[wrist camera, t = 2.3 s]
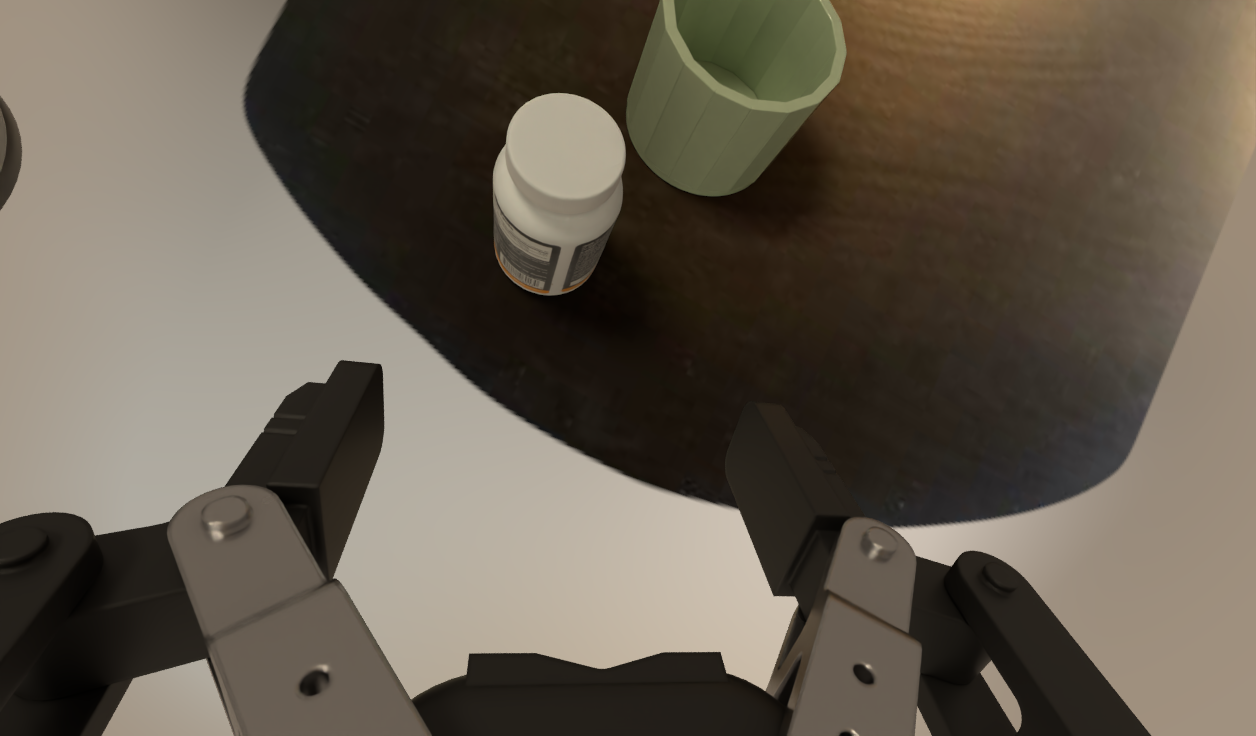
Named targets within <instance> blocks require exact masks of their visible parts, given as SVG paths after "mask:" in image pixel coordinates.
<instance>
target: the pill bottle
mask: <svg viewBox="0 0 1256 736" xmlns="http://www.w3.org/2000/svg"><path fill="white" fill-rule="evenodd" d="M625 156H626V151H625V143H624V139H623V136H622V133H621V131H620V129H619V127H618V126H617V124H616V123H615V121H614V120H613V119H612V117H611V116H610V115H609V114H608V113H607V112H606V111H605V110H604V109H602V108H601V107H600V106H598V105H597V104H595V103H593V102H592V101H590V100H588V99H585V98H583V97H580V96H576V95H572V94H564V93H554V94H547V95H542V96H539V97H536V98H534V99H532V100H531V101H529V102H527V103H526V104H525V105H523V106H522V107H521V108H520V109H519V110H518V111H517V112H516V114H515V115H514V117H513V118H512V120H511V122H510V125H509V128H508V132H507V137H506V145H505V146H504V148H503V149H502V151H501V152H500V154H499V156H498V159H497V161H496V164H495V168H494V172H493V202H494V245H495V252H496V256H497V259H498V262H499V264H500V266H501V268H502V269H503V271H504V272H505V274H506V275H507V276H508V277H509V278H510V279H511V280H512V281H513V282H514V283H516V284H517V285H518V286H520V287H522V288H523V289H525V290H527V291H530V292H533V293H537V294H540V295H560V294H564V293H567V292H570V291H573V290H574V289H576V288H577V287H579V286H581V285H582V284H583V283H584V282H585V281H586V280H587V279H588V278H589V276H590V275H591V274H592V272H593V270H594V268H595V267H596V265H597V263H598V260H599V258H600V256H601V254H602V252H603V250H604V247H605V245H606V242H607V240H608V238H609V235H610V233H611V231H612V228H613V226H614V224H615V222H616V219H617V217H618V215H619V212H620V209H621V205H622V197H623V186H622V179H621V175H622V172H623V169H624V165H625Z"/></svg>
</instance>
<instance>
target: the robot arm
mask: <svg viewBox="0 0 1256 736" xmlns="http://www.w3.org/2000/svg"><path fill="white" fill-rule="evenodd" d="M383 435H384V398H383V371H382V366H381V365H380V364H374V363H364V362H354V361H353V362H352V361H344V360H341V361H339V362H338V364H337V366H336V367H335V369H334V371H333V372H332V374H331V376H330V377H329V379H328V381H327V382H326V384H323V383H313V382H308V383H306V384H305V385H303V386H301V387H300V388H298V389H297V390H295V391H294V392H292V393H291V394H289V395H287V396H286V398H285V399H284V400H283V402H282V403H281V405H280V406H279V408H278V409H277V411H276V412H275V413H274V418H271V419H270V421H269V422H268V424H267V425H266V427H265V428H264V432H263V433H261V434H260V435H259V437H258V438H257V440H256V441H255V443H254V444H253V446H252V447H251V449H250V450H249V452H248V453H247V455H246V456H245V458H244V459H243V460H242V462H241V463H240V465H239V466H238V468H237V469H236V471H235V472H234V474H233V475H232V476H231V478H230V479H229V481H228V483H227V484H226V485H225V487H223V488H218V489H215V490H212V491H209V492H206V493H204V494H202V495H200V496H198V497H196V498H194V499H193V500H191V501H189V502H188V503H186V504H185V505H184V506H183V507H181V508H180V509H179V510H178V511H177V512H176V514H175V515H174V516H173V517H172V519H171V520H170V522H166V523H163V524H158V525H153V526H149V527H143V528H137V529H131V530H125V531H119V532H114V533H108V534H102V535H96V536H95V535H94V532H93V530H92V528H91V526H90V524H89V523H88V522H87V521H86V520H85V519H83V518H81V517H79V516H76V515H73V514H68V513H56V512H53V513H40V514H33V515H28V516H23V517H19V518H16V519H12V520H9V521H6V522H3V523H1V524H0V736H101V735H102V734H103V731H104V730H105V728H106V727H107V725H108V723H109V721H110V719H111V717H112V716H113V714H114V712H115V710H116V708H117V707H118V705H119V703H120V701H121V699H122V698H123V696H124V694H125V692H126V690H127V689H128V687H129V685H130V683H131V681H132V679H133V678H136V677H139V676H143V675H147V674H150V673H154V672H158V671H161V670H165V669H169V668H172V667H176V666H180V665H183V664H187V663H191V662H194V661H198V660H202V659H205V658H206V660H207V663H208V665H209V668H210V671H211V674H212V676H213V679H214V682H215V685H216V688H217V690H218V693H219V696H220V699H221V701H222V704H223V707H224V710H225V713H226V715H227V718H228V721H229V724H230V726H231V729H232V732H233V734H234V736H915V724H916V713H917V706H918V708H919V710H920V712H921V714H922V716H923V718H924V720H925V722H926V724H927V726H928V728H929V730H930V732H931V735H932V736H1151V735H1150V734H1149V733H1148V731H1147V730H1146V729H1145V727H1144V726H1143V725H1142V724H1141V722H1140V721H1139V720H1138V719H1137V717H1136V716H1135V715H1134V714H1133V712H1132V711H1131V710H1130V709H1129V708H1128V706H1127V705H1126V704H1125V702H1124V701H1123V700H1122V699H1121V697H1120V696H1119V695H1118V694H1117V692H1116V691H1115V690H1114V689H1113V687H1112V686H1111V685H1110V684H1109V682H1108V681H1107V680H1106V679H1105V677H1104V676H1103V675H1102V674H1101V672H1100V671H1099V670H1098V669H1097V667H1096V666H1095V665H1094V664H1093V662H1092V661H1091V660H1090V659H1089V658H1088V656H1087V655H1086V654H1085V653H1084V651H1083V650H1082V649H1081V647H1080V646H1079V645H1078V644H1077V643H1076V641H1075V640H1074V639H1073V637H1072V636H1071V635H1070V634H1069V632H1068V631H1067V630H1066V629H1065V627H1064V626H1063V625H1062V624H1061V622H1060V621H1059V620H1058V619H1057V618H1056V616H1055V615H1054V614H1053V612H1052V611H1051V610H1050V609H1049V607H1048V606H1047V605H1046V604H1045V602H1044V601H1043V600H1042V599H1041V597H1040V596H1039V595H1038V594H1037V593H1036V591H1035V590H1034V589H1033V587H1032V586H1031V585H1030V584H1029V583H1028V581H1027V580H1026V579H1025V578H1024V577H1023V576H1022V575H1021V574H1020V573H1019V572H1017V571H1016V570H1015V569H1014V568H1012V567H1011V566H1009V565H1008V564H1007V563H1005V562H1003V561H1002V560H1000V559H998V558H996V557H994V556H991V555H989V554H986V553H983V552H978V551H967V552H964V553H962V554H961V555H960V556H959V557H958V559H957V560H956V561H955V563H954V564H953V565H952V567H951V566H947V565H944V564H941V563H938V562H934V561H931V560H928V559H924V558H921V557H918V556H915V553H914V551H913V549H912V548H911V546H910V545H909V543H908V542H907V541H906V540H905V539H904V538H903V537H902V536H901V535H900V534H899V533H898V532H896V531H895V530H894V529H892V528H891V527H889V526H887V525H885V524H884V523H882V522H879V521H877V520H874V519H871V518H866V517H865V515H864V514H863V512H862V511H861V509H860V507H859V506H858V504H857V503H856V501H855V500H854V498H853V497H852V495H851V493H850V492H849V490H848V489H847V487H846V486H845V484H844V483H843V481H842V479H841V478H840V476H839V475H838V474H836V470H835V469H834V467H833V465H832V464H831V462H830V461H827V456H826V455H825V453H824V451H823V450H822V448H821V447H820V445H819V444H818V442H817V441H816V440H815V439H814V438H812V437H811V436H810V435H809V434H808V433H807V432H805V431H804V430H803V429H802V428H801V427H796V426H795V425H794V423H793V421H792V420H791V418H790V416H789V415H788V413H787V412H786V410H785V408H784V407H783V406H782V405H781V404H774V403H764V402H754V401H749V402H748V403H746V405H745V406H744V408H743V410H742V413H741V416H740V418H739V421H738V424H737V426H736V429H735V432H734V434H733V437H732V440H731V442H730V445H729V448H728V451H727V454H726V460H725V471H726V477H727V480H728V482H729V485H730V487H731V490H732V492H733V495H734V497H735V500H736V502H737V505H738V507H739V510H740V512H741V515H742V517H743V520H744V522H745V525H746V527H747V530H748V533H749V535H750V538H751V540H752V542H753V545H754V548H755V550H756V553H757V555H758V558H759V560H760V563H761V565H762V568H763V570H764V573H765V575H766V578H767V581H768V583H769V586H770V588H771V591H772V593H773V595H774V596H795V597H796V599H797V601H798V604H799V605H798V607H797V608H796V610H795V612H794V614H793V616H792V619H791V622H790V625H789V627H788V630H787V633H786V636H785V639H784V642H783V645H782V648H781V650H780V654H779V656H778V659H777V662H776V664H775V667H774V670H773V673H772V676H771V679H770V681H769V684H768V687H767V689H766V691H764V690H763V689H761V688H759V687H757V686H756V685H754V684H752V683H750V682H748V681H746V680H744V679H741V678H739V677H736V676H734V675H730V674H727V673H726V670H725V667H724V663H723V660H722V656H721V652H678V653H677V652H671V653H670V652H669V653H668V652H665V653H660V654H656V655H653V656H650V657H646V658H642V659H639V660H635V661H632V662H629V663H625V664H622V665H618V666H615V667H611V668H607V669H597V668H592V667H589V666H585V665H581V664H576V663H573V662H569V661H564V660H561V659H557V658H553V657H549V656H545V655H541V654H537V653H491V654H490V653H489V654H487V653H486V654H485V653H484V654H483V653H482V654H469V660H468V668H467V675H464V676H460V677H457V678H454V679H451V680H448V681H446V682H443V683H441V684H438V685H436V686H434V687H432V688H430V689H428V690H426V691H424V692H423V693H421V694H419V695H417V696H416V697H414V698H413V699H412V700H411V699H410V698H409V696H408V694H407V692H406V691H405V689H404V687H403V686H402V684H401V682H400V681H399V679H398V677H397V676H396V674H395V672H394V671H393V669H392V667H391V665H390V664H389V662H388V660H387V659H386V657H385V655H384V654H383V652H382V650H381V648H380V647H379V645H378V644H377V642H376V640H375V639H374V637H373V635H372V633H371V632H370V630H369V628H368V627H367V625H366V623H365V621H364V620H363V618H362V616H361V615H360V613H359V612H358V610H357V608H356V606H355V605H354V603H353V601H352V600H351V598H350V596H349V595H348V593H347V591H346V590H345V588H344V587H343V585H342V584H341V583H340V582H339V581H338V580H337V579H333V576H334V573H335V571H336V568H337V565H338V563H339V560H340V558H341V555H342V552H343V550H344V547H345V544H346V542H347V539H348V536H349V534H350V531H351V529H352V526H353V523H354V521H355V518H356V515H357V513H358V510H359V507H360V504H361V502H362V499H363V497H364V494H365V491H366V489H367V486H368V484H369V481H370V478H371V476H372V473H373V470H374V468H375V465H376V462H377V460H378V457H379V454H380V451H381V447H382V442H383ZM991 660H992V662H993V663H994V665H995V666H996V668H997V670H998V671H999V673H1000V674H1001V676H1002V677H1003V679H1004V680H1005V682H1006V683H1007V685H1008V687H1009V688H1010V690H1011V691H1012V693H1013V694H1014V696H1015V698H1016V699H1017V701H1018V704H1019V706H1020V710H1021V715H1022V723H1021V727H1020V729H1019V731H1018V732H1016V730H1015V729H1014V727H1013V726H1012V724H1011V722H1010V721H1009V719H1008V717H1007V716H1006V714H1005V712H1004V711H1003V709H1002V708H1001V706H1000V704H999V703H998V701H997V699H996V698H995V696H994V695H993V693H992V691H991V690H990V688H989V687H988V685H987V683H986V682H985V680H984V678H983V677H982V675H981V673H980V672H981V671H982V670H983V669H984V668H985V666H986V665H987V664H988V663H989V662H990V661H991Z"/></svg>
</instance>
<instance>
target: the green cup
mask: <svg viewBox="0 0 1256 736" xmlns="http://www.w3.org/2000/svg"><path fill="white" fill-rule="evenodd" d="M846 52H847V50H846V45H845V39H844V34H843V29H842V23H841V20H840V18H839V16H838V15H837V13H836V11H835V9H834V8H833V6H832V4H831V2H830V1H829V0H660V2H659V5H658V8H657V11H656V14H655V17H654V20H653V23H652V26H651V29H650V32H649V35H648V38H647V41H646V44H645V47H644V50H643V53H642V56H641V59H640V62H639V65H638V68H637V71H636V74H635V77H634V80H633V83H632V86H631V89H630V91H629V94H628V97H627V98H628V99H627V106H626V122H627V128H628V132H629V135H630V138H631V140H632V143H633V145H634V147H635V149H636V151H637V152H638V154H639V156H640V157H641V158H642V160H643V161H644V162H645V163H646V165H647V166H648V167H649V168H650V169H651V170H652V171H653V172H654V173H655V174H657V175H658V176H659V177H660V178H662V179H663V180H665V181H666V182H668V183H669V184H671V185H673V186H675V187H677V188H679V189H681V190H684V191H686V192H689V193H693V194H697V195H703V196H724V195H729V194H733V193H736V192H739V191H741V190H743V189H745V188H747V187H748V186H750V185H751V184H753V183H754V182H755V181H756V180H757V179H758V178H759V177H760V176H761V174H762V173H763V172H764V171H765V170H766V169H767V168H768V167H769V166H770V165H771V163H772V162H773V161H774V160H775V159H776V158H777V156H778V155H779V154H780V153H781V152H782V150H783V149H784V148H785V147H786V146H787V144H788V143H789V142H790V141H791V140H792V138H793V137H794V136H795V135H796V134H797V132H798V131H799V130H800V129H801V128H802V126H803V125H804V124H805V123H806V122H807V120H808V119H809V118H810V117H811V116H812V114H813V113H814V112H815V111H816V110H817V108H818V107H819V106H820V105H821V104H822V102H823V101H824V100H825V99H826V98H827V96H828V95H829V94H830V93H831V92H832V90H833V89H834V88H835V87H836V86H837V84H838V83H839V81H840V78H841V74H842V70H843V66H844V62H845V58H846V54H847V53H846Z"/></svg>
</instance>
